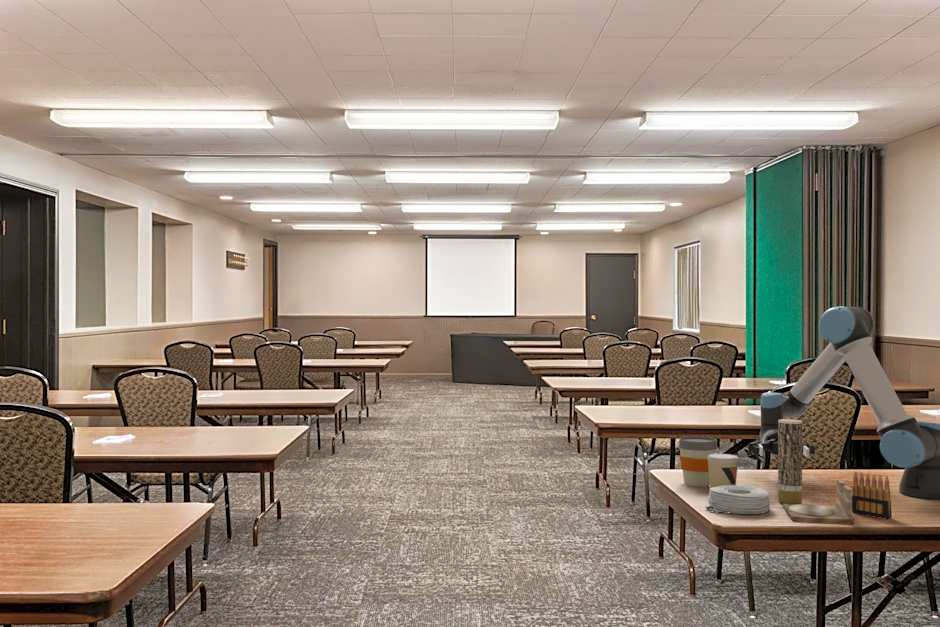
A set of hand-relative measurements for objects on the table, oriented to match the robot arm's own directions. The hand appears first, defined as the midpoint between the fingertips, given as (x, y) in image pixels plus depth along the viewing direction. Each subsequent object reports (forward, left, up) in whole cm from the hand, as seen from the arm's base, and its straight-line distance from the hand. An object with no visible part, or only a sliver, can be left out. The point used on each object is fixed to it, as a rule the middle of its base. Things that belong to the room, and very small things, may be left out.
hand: (784, 452), depth 259 cm
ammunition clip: (-21, +19, -14) cm, 31 cm away
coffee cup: (+19, -1, -14) cm, 23 cm away
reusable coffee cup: (+26, -15, -14) cm, 33 cm away
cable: (+16, +18, -15) cm, 28 cm away
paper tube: (0, +8, -14) cm, 16 cm away
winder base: (-5, +23, -14) cm, 27 cm away
